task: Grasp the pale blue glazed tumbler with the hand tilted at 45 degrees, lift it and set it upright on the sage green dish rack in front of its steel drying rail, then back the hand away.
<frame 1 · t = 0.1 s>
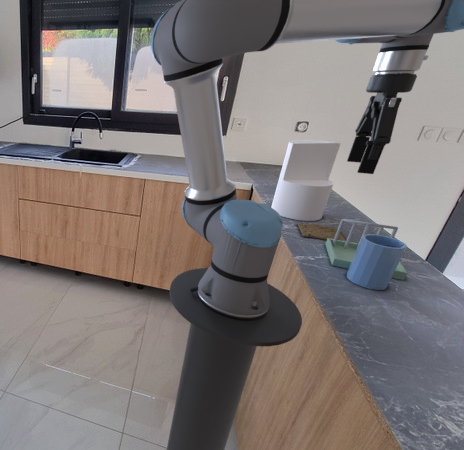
hand: (358, 167, 78), 29 cm above the worktop, tool pointing down, fingers open, 13 cm apart
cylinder: (295, 213, 127), on the worktop
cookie: (320, 233, 109), on the worktop
tumbler: (366, 281, 83), on the worktop
dish rack: (360, 260, 92), on the worktop
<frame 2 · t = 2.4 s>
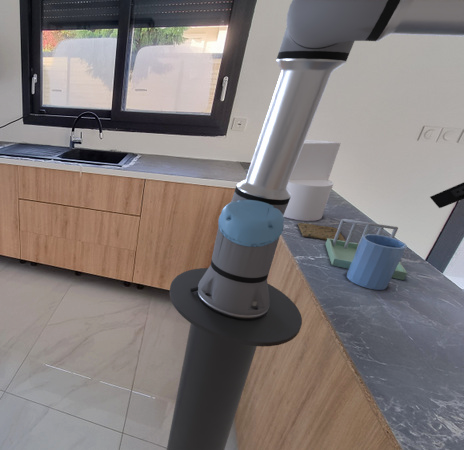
hand: (455, 198, 65), 26 cm above the worktop, tool tilted 40°, fingers open, 13 cm apart
nothing on the worktop moved.
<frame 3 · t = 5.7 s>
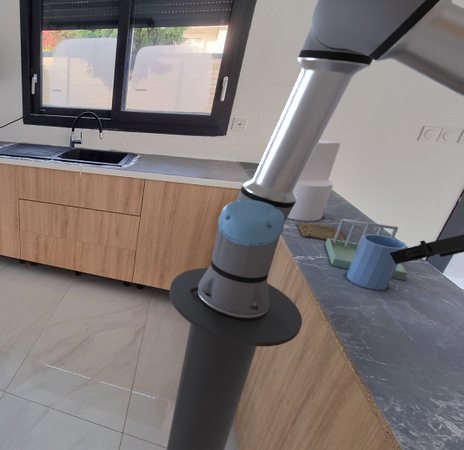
hand: (416, 254, 72), 12 cm above the worktop, tool tilted 45°, fingers open, 13 cm apart
nothing on the worktop moved.
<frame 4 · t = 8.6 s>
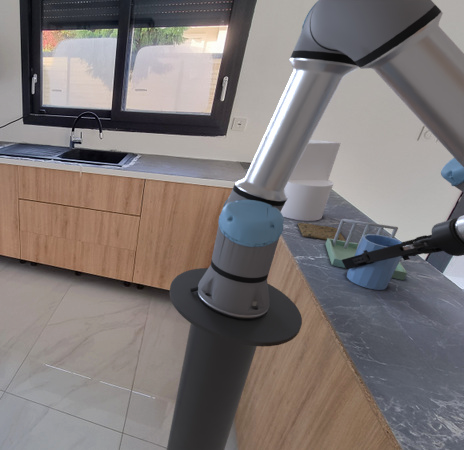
hand: (358, 262, 84), 4 cm above the worktop, tool tilted 45°, fingers closed on tumbler, 8 cm apart
tumbler: (366, 281, 83), on the worktop, touching gripper
everything else where it was.
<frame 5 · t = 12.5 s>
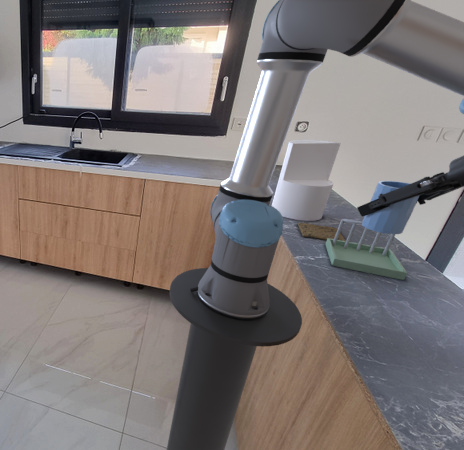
hand: (373, 210, 85), 16 cm above the worktop, tool tilted 45°, fingers closed on tumbler, 8 cm apart
tumbler: (381, 228, 83), point 13 cm above the worktop, touching gripper
everything else where it was.
when the fingers open (5 cm above the worktop, at t = 16.4 s): tumbler stays where it is, resting on dish rack.
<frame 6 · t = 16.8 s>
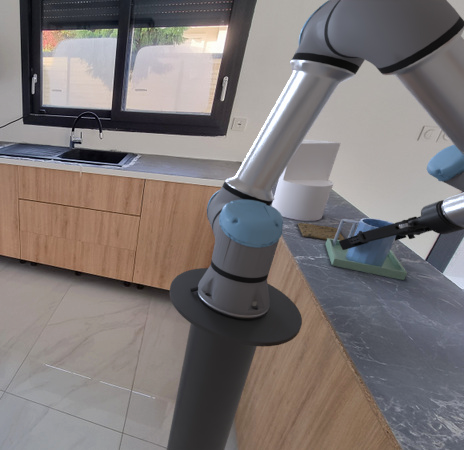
hand: (359, 243, 91), 6 cm above the worktop, tool tilted 45°, fingers open, 13 cm apart
tumbler: (363, 261, 90), point 1 cm above the worktop, touching dish rack
everything else where it was.
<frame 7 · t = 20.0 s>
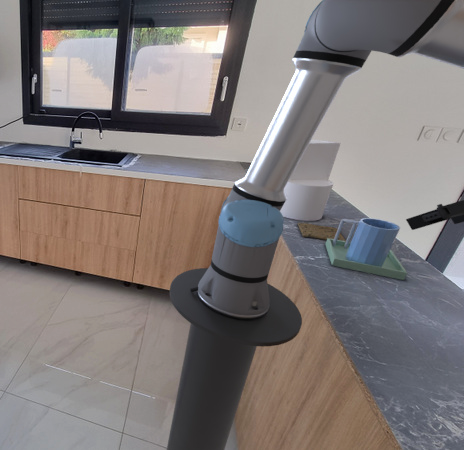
hand: (431, 221, 74), 18 cm above the worktop, tool tilted 45°, fingers open, 13 cm apart
nothing on the worktop moved.
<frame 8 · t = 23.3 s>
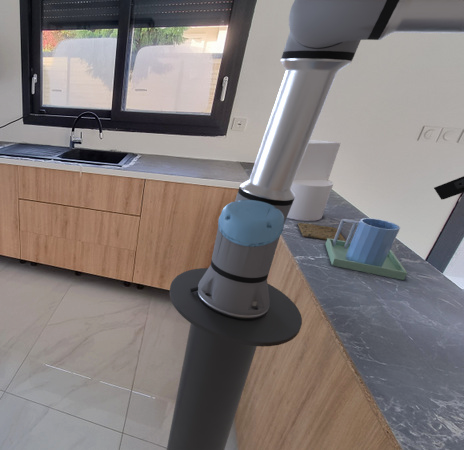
hand: (463, 190, 64), 28 cm above the worktop, tool tilted 45°, fingers open, 13 cm apart
nothing on the worktop moved.
at the end: tumbler inside the target area on the dish rack (1.0 cm from its centre), point 0.8 cm above the dish rack's base; tumbler tilted 0°; the gripper is holding nothing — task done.
